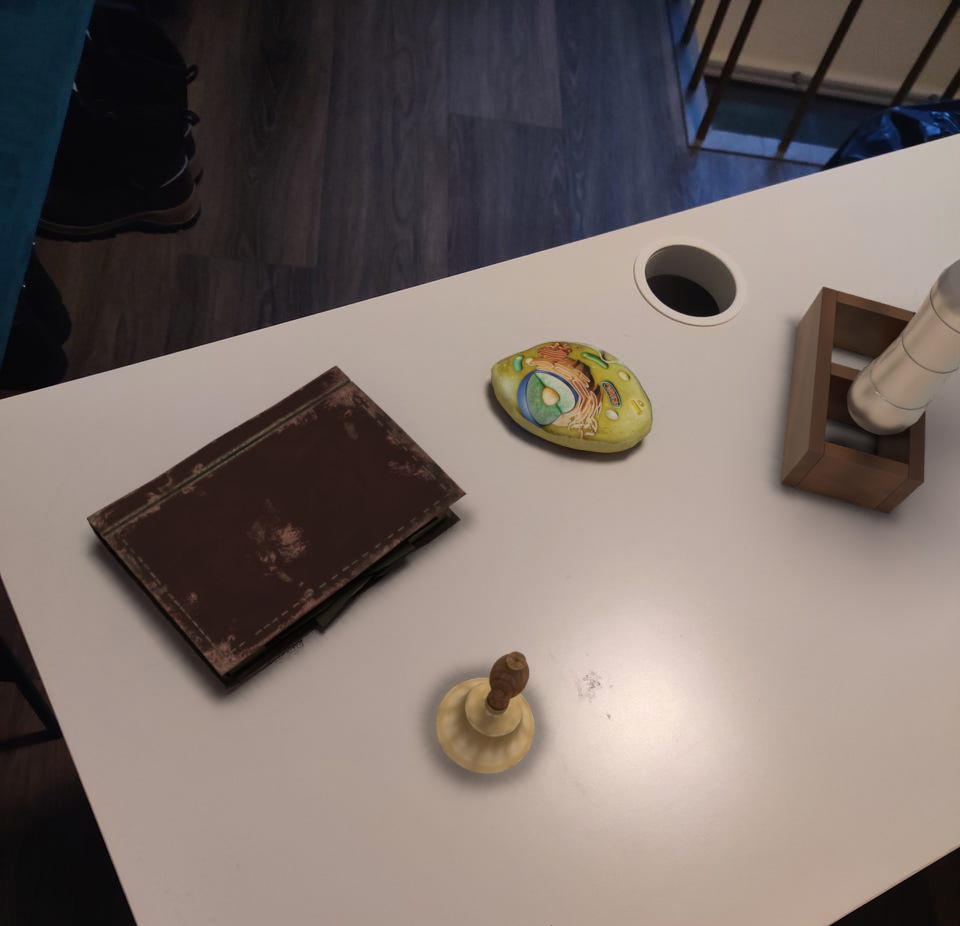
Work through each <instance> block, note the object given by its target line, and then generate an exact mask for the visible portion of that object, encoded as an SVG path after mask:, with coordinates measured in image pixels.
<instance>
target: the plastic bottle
mask: <svg viewBox="0 0 960 926" xmlns="http://www.w3.org/2000/svg"><path fill="white" fill-rule="evenodd" d="M958 369H960V258H959V259H957V260H956V261H954V262H953V263H952V264H949V265H948V266H947V267H945V268H944V269H943V270H942V271H941V273H940V274H939V275H938V277H937V279H935V281H934V283H933V285H931V288H930V289H929V291H928V293H927V294H926V296H925V298H924V300H923V301H922V303H921V304H920V306H919V308H918V309H917V311H916V314H915V315H914V317H913V318H912V319H911V321H910V322H909V323H908V325H907V326H906V328H905V329H904V330H903V331H902V333H901V334H900V335H899V337H898V338H897V339H896V340H895V341H894V342H893V343H892V344H891V345H890V346H889V347H888V348H887V349H886V350H885V351H884V352H883V353H882V354H881V355H880V356H879V357H878V358H876V359H875V358H874V359H873V360H872V361H870V362H869V363H868V364H866V366H864V367H863V368H862V369H860V370H861V371H860V372H859V373H858V374H857V376H856V377H855V379H854V380H853V382H852V384H851V386H850V388H849V390H848V394H847V404H848V410H849V413H850V415H851V416H852V418H853V419H854V421H855V422H856V423H857V424H858V425H859V426H858V427H860V426H861V427H860V428H862V429H863V430H865V431H867V432H869V433H870V434H874V435H892V434H898V433H900V432H902V431H904V430H905V429H907V428H908V427H910V426H911V425H913V424H914V423H915V422H917V421H918V419H919V418H920V417H921V415H922V414H923V412H924V411H925V410H927V409H928V407H929V405H930V404H931V402H932V399H933V398H934V397H935V396H936V394H937V393H938V392H939V391H940V389H941V388H942V387H943V385H945V383H946V382H947V381H948V379H949V378H950V377H951V376H952V375H953V374H954V373H955V372H956V371H957V370H958Z"/></svg>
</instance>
